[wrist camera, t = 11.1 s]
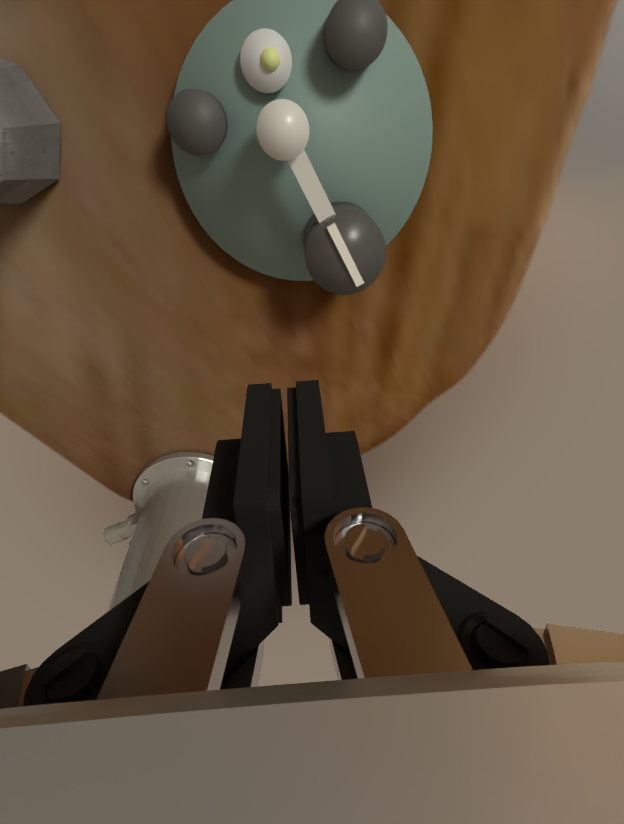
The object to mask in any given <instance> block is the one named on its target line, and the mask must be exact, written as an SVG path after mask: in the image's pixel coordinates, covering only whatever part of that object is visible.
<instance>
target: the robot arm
mask: <svg viewBox="0 0 624 824" xmlns="http://www.w3.org/2000/svg"><path fill="white" fill-rule="evenodd" d="M287 400H288V455H289V472H288V462H287V452H286V441H285V431H284V421H283V410H282V400H281V390H280V389H272V386H271V383H266V384H251V385H248V387H247V395H246V403H245V412H244V420H243V428H242V436H241V439H230V440H218V441H217V444H216V448H215V453H214V456H211V455H208V454H204V453H197V452H179V453H173V454H169V455H166V456H162V457H160V458H158V459H156V460H154V461H152V462H151V463H150V464H148V465H147V466H146V467H145V468H144V469H143V470H142V471H141V473H140V474H139V476H138V478H137V480H136V483H135V485H134V489H133V502H134V506H135V509H136V512H135V514H133V515H130V516H129V517H128V518H127V521H124V522H120V523H117V524H114V525H112V526H109V527H107V528H105V530H104V538H105V541H106V542H107V543H109V544H114V543H117V542H119V541H122V540H125V539H127V538H128V537H130V536H133V538H132V540H131V541H130V544H129V545H130V547H129V549H128V552H127V555H126V558H125V561H124V564H123V567H122V570H121V572H120V576H119V578H118V581H117V584H116V587H115V590H114V593H113V596H112V598H111V602H110V604H109V607H108V610H107V613H106V614H104V615H103V616H102V617H100V618H99V619H98V620H96V621H95V622H94V623H92V624H91V625H90V626H88V627H87V628H86V629H84V630H83V631H82V632H80V633H79V634H78V635H76V636H75V637H74V638H72V639H71V640H70V641H68V642H67V643H66V644H64V645H63V646H62V647H60V648H59V649H57V650H56V651H55V652H54V653H53V654H52V655H51V656H49V657H48V658H47V659H46V660H45V661H44V662H43V663H42V664H41V665H40V667H37V668H34V669H30V668H29V666H28V665H27V664H24V665H21V666H18V667H14V668H11V669H7V670H4V671H0V824H624V634H619V633H612V632H605V631H598V630H590V629H583V628H576V627H568V626H562V625H554V624H547V625H546V628H545V629H538V628H532V627H531V625H529V624H528V623H527V622H525V621H524V620H522V619H521V618H520V617H519V616H517V615H516V614H514V613H512V612H511V611H509V610H507V609H506V608H504V607H502V606H501V605H499V604H497V603H496V602H494V601H492V600H490V599H489V598H487V597H485V596H484V595H482V594H480V593H479V592H477V591H475V590H474V589H472V588H470V587H469V586H467V585H465V584H464V583H462V582H460V581H459V580H457V579H455V578H454V577H452V576H450V575H448V574H447V573H445V572H443V571H442V570H440V569H438V568H437V567H435V566H433V565H432V564H430V563H428V562H427V561H425V560H423V559H422V558H420V557H418V556H417V555H416V553H415V551H414V549H413V547H412V545H411V543H410V541H409V539H408V537H407V535H406V533H405V531H404V529H403V528H402V526H401V525H400V523H399V522H398V521H397V520H396V519H395V518H393V517H392V516H391V515H389V514H388V513H385V512H383V511H381V510H378V509H373V508H372V505H371V500H370V496H369V492H368V487H367V483H366V478H365V474H364V469H363V465H362V460H361V456H360V451H359V447H358V442H357V438H356V434H355V432H354V431H347V432H332V433H325V426H324V419H323V411H322V404H321V396H320V389H319V381H318V380H311V381H296V388H287ZM290 512H291V522H292V532H293V543H294V552H295V563H296V573H297V582H298V593H299V602H300V605H306V604H309V605H310V619H311V623H312V624H313V625H314V626H316V627H317V628H318V629H319V630H320V631H322V632H323V633H324V634H326V635H327V636H328V637H329V641H330V649H331V653H332V657H333V661H334V665H335V670H336V674H337V677H338V680H336V681H324V682H311V683H299V684H285V685H273V686H262V687H261V686H260V687H257V685H258V680H259V675H260V669H261V664H262V658H263V653H264V639H265V638H266V637H267V636H268V635H269V634H270V633H271V632H272V631H273V630H274V629H275V628H276V627H277V626H278V623H282V606H291V605H292V591H291V543H290V540H291V539H290Z"/></svg>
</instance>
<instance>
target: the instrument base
mask: <svg viewBox="0 0 624 824" xmlns="http://www.w3.org/2000/svg"><path fill="white" fill-rule="evenodd" d="M277 99H287V100H290V101H293V102H295V103H296V104H297V105H299V106H300V107H301V108H302V110H303V111H304V113H305V115H306V117H307V119H308V123H309V139H308V142H307V145H306V147H305V148H304V150H305V152H306V154H307V156H308V158H309V160H310V162H311V165H312V167H313V169H314V171H315V173H316V175H317V177H318V179H319V181H320V183H321V185H322V187H323V189H324V191H325V193H326V195H327V197H328V199H329V201H330V203H333V202H341V201H343V202H350V203H353V204H355V205H357V206H359V207H361V208H362V209H363V210H365V211H366V212H367V214H368V215H369V216H370V217H371V219H372V220H373V221H374V222H375V224H376V225H377V226H378V228H379V229H380V231H381V232H382V234H383V237H384V240H385V244H386V245H388V244H389V243H390V242H391V240H392V239H393V238H394V237H395V236H396V235H397V233H398V232H399V231H400V230H401V228H402V227H403V225H404V224H405V222H406V221H407V219H408V218H409V217H410V215H411V213H412V211H413V209H414V207H415V205H416V203H417V201H418V199H419V196H420V194H421V191H422V189H423V186H424V183H425V179H426V176H427V172H428V168H429V163H430V156H431V150H432V131H433V125H432V112H431V104H430V99H429V94H428V89H427V85H426V82H425V79H424V76H423V73H422V70H421V67H420V65H419V63H418V61H417V58H416V56H415V54H414V52H413V50H412V48H411V46H410V45H409V43H408V42H407V40H406V39H405V37H404V36H403V34H402V32H401V31H400V30H399V29H398V27H397V26H396V25H395V24H394V23H393V22H392V20H391V19H390V18H389V17H388V16H387V15H386V14H385V11H384V8H383V6H382V4H381V3H380V1H379V0H233V1H231V2H230V3H228V4H227V5H226V6H224V7H223V8H222V9H221V10H220V11H219V12H218V13H217V14H216V15H215V16H214V17H213V18H212V19H211V20H210V21H209V22H208V23H207V25H206V26H205V27H204V29H203V30H202V31H201V33H200V34H199V36H198V37H197V38H196V40H195V41H194V43H193V45H192V47H191V49H190V51H189V53H188V54H187V56H186V58H185V61H184V64H183V66H182V69H181V71H180V74H179V77H178V80H177V85H176V89H175V93H174V97H173V98H172V99H171V101H170V103H169V105H168V108H167V114H166V121H167V127H168V131H169V133H170V136H171V144H172V152H173V160H174V164H175V168H176V172H177V176H178V180H179V182H180V185H181V188H182V191H183V194H184V196H185V198H186V200H187V202H188V204H189V206H190V208H191V210H192V212H193V214H194V215H195V217H196V218H197V220H198V222H199V223H200V225H201V226H202V227H203V229H204V230H205V231H206V232H207V234H208V235H209V236H210V237H211V238H212V240H213V241H214V242H215V243H216V244H218V245H219V246H220V247H221V248H222V249H223V250H224V251H225V252H226V253H228V254H229V255H230V256H232V257H233V258H234V259H236V260H237V261H238V262H240V263H242V264H244V265H245V266H247V267H249V268H251V269H253V270H255V271H258V272H260V273H262V274H265V275H268V276H272V277H275V278H279V279H286V280H293V281H312V280H313V278H312V277H311V275H310V273H309V271H308V268H307V265H306V259H305V253H304V246H303V236H304V231H305V228H306V225H307V223H308V221H309V220H310V218H311V217H312V216H313V214H314V212H313V210H312V208H311V206H310V204H309V202H308V200H307V198H306V196H305V194H304V192H303V190H302V188H301V186H300V184H299V182H298V180H297V178H296V176H295V174H294V172H293V170H292V168H291V167H290V165H289V163H288V161H281V160H276V159H274V158H272V157H270V156H269V155H268V154H267V153H266V152H265V151H264V150H263V149H262V147H261V145H260V143H259V141H258V137H257V131H256V128H257V120H258V117H259V114H260V113H261V111H262V109H263V108H264V107H265V106H266V105H267V104H268V103H270V102H272V101H274V100H277Z"/></svg>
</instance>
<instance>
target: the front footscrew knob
mask: <svg viewBox="0 0 624 824" xmlns="http://www.w3.org/2000/svg"><path fill="white" fill-rule="evenodd" d="M256 131H257V137H258V141H259V143H260V145H261V147H262V149H263V150H264V151H265V152H266V153H267V154H268V155H269V156H270V157H272V158H274V159H276V160H281V161H288V163H289V165H290V167H291V168H292V170H293V172H294V174H295V176H296V178H297V180H298V182H299V184H300V186H301V188H302V190H303V192H304V194H305V196H306V198H307V200H308V202H309V204H310V206H311V208H312V210H313V212H314V214H313V216H312V217H311V218H310V220H309V221H308V223H307V225H306V228H305V231H304V236H303V246H304V253H305V259H306V265H307V268H308V271H309V273H310V275H311V277H312V278H313V280H314V281H315V282H316V283H317V284H318V285H319V286H320V287H321V288H323V289H324V290H326V291H328V292H331V293H334V294H341V295H346V294H353V293H356V292H359V291H361V290H363V289H365V288H366V287H368V286H369V285H370V284H372V283H373V282H374V281H375V279H376V278H377V277H378V275H379V274H380V272H381V270H382V268H383V265H384V262H385V257H386V244H385V240H384V237H383V234H382V232H381V231H380V229H379V228H378V226H377V225H376V224H375V222H374V221H373V220H372V219H371V217H370V216H369V215H368V214H367V212H366V211H365V210H363V209H362V208H361V207H359V206H357V205H355V204H353V203H350V202H343V201H341V202H333V203H330V201H329V199H328V197H327V195H326V193H325V191H324V189H323V187H322V185H321V183H320V181H319V179H318V177H317V175H316V173H315V171H314V169H313V167H312V165H311V162H310V160H309V158H308V156H307V154H306V152H305V150H304V148H305V147H306V145H307V142H308V139H309V123H308V119H307V117H306V115H305V113H304V111H303V110H302V108H301V107H300V106H299V105H297V104H296V103H295V102H293V101H290V100H287V99H277V100H274V101H272V102H270V103H268V104H267V105H266V106H265V107H264V108H263V109H262V111H261V113H260V114H259V117H258V120H257V128H256Z"/></svg>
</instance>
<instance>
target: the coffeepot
mask: <svg viewBox="0 0 624 824" xmlns="http://www.w3.org/2000/svg"><path fill="white" fill-rule="evenodd" d="M60 159H61V138H60V122H59V120H58V119H57V117H56V116H55V114H54V113H53V111H52V110H51V108H50V107H49V105H48V103H47V102H46V100H45V98H44V97H43V95H42V94H41V93H40V91H39V90H38V89H37V88H36V86H35V85H34V84H33V83H32V82H31V80H30V79H29V78H28V76H27V75H26V73H25V72H24V71H23V69H22V68H21V66H20V65H18V64H15V63H12V62H10V61H7V60H4V59H1V58H0V204H22V203H23V202H25V201H26V200H28V199H29V198H31V197H33V196H34V195H36V194H37V193H39V192H40V191H42V190H43V189H44V188H46V187H47V186H49V185H50V184H52V183H53V182H55V181H56V180H58V179H59V171H60Z"/></svg>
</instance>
